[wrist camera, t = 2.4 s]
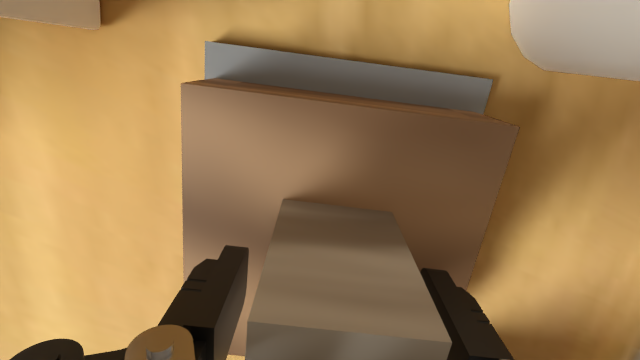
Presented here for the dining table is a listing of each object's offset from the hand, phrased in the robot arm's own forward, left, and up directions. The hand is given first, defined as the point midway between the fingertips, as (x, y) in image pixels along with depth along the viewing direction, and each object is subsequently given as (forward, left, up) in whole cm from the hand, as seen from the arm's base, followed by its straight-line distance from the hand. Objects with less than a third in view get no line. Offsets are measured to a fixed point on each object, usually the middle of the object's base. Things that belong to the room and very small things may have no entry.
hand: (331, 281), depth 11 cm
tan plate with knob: (0, 0, -5) cm, 5 cm away
